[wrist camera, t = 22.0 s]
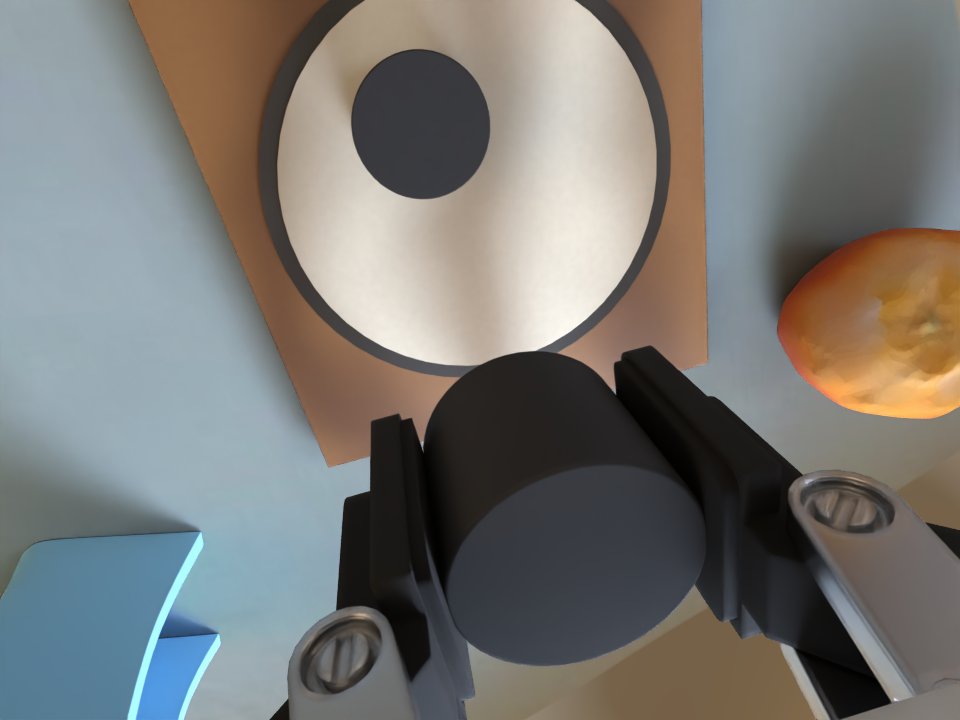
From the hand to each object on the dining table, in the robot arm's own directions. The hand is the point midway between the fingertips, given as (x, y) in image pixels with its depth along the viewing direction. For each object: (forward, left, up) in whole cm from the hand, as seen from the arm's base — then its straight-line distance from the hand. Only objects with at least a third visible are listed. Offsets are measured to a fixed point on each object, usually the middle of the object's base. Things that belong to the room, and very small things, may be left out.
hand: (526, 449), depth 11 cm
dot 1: (0, -5, -12) cm, 13 cm away
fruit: (-18, +6, -14) cm, 23 cm away
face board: (-2, -3, -13) cm, 14 cm away
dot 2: (0, 0, 0) cm, 0 cm away
